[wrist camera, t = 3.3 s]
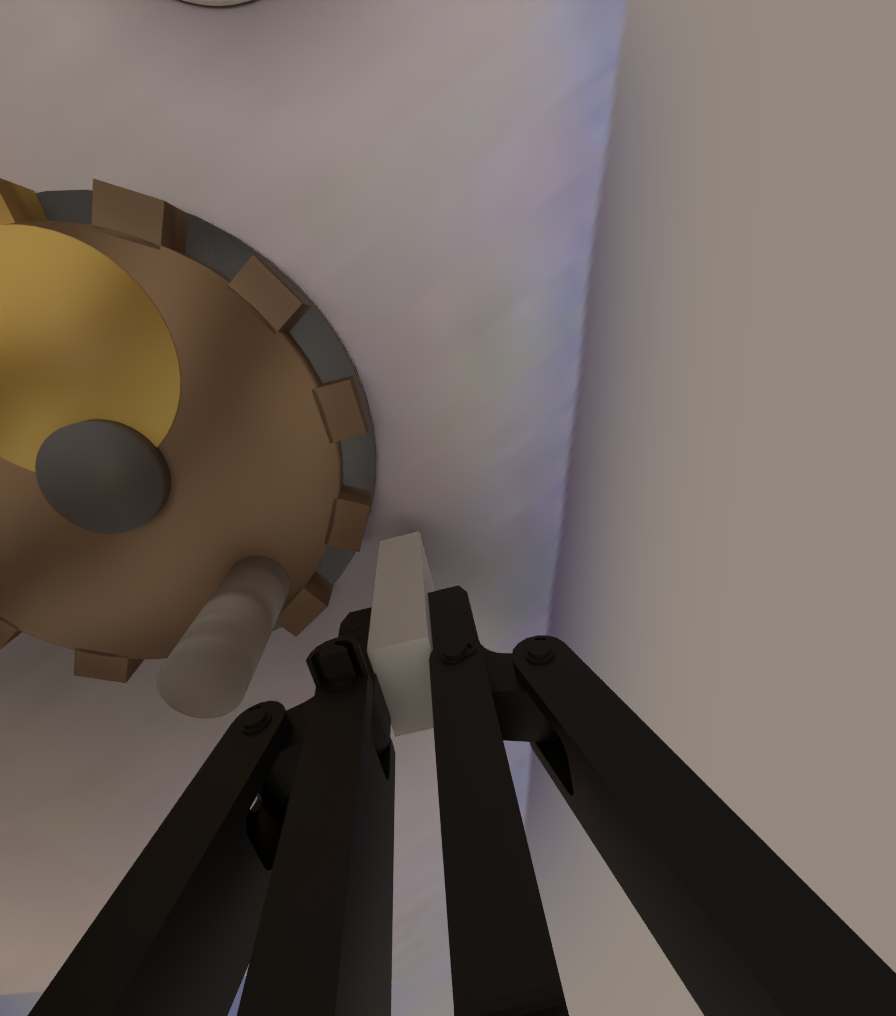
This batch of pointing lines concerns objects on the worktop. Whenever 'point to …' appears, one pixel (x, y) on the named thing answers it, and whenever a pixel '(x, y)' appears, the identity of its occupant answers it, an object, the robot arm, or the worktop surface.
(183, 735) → the worktop surface
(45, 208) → the base plate
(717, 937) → the robot arm
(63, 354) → the sprocket
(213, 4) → the mug
